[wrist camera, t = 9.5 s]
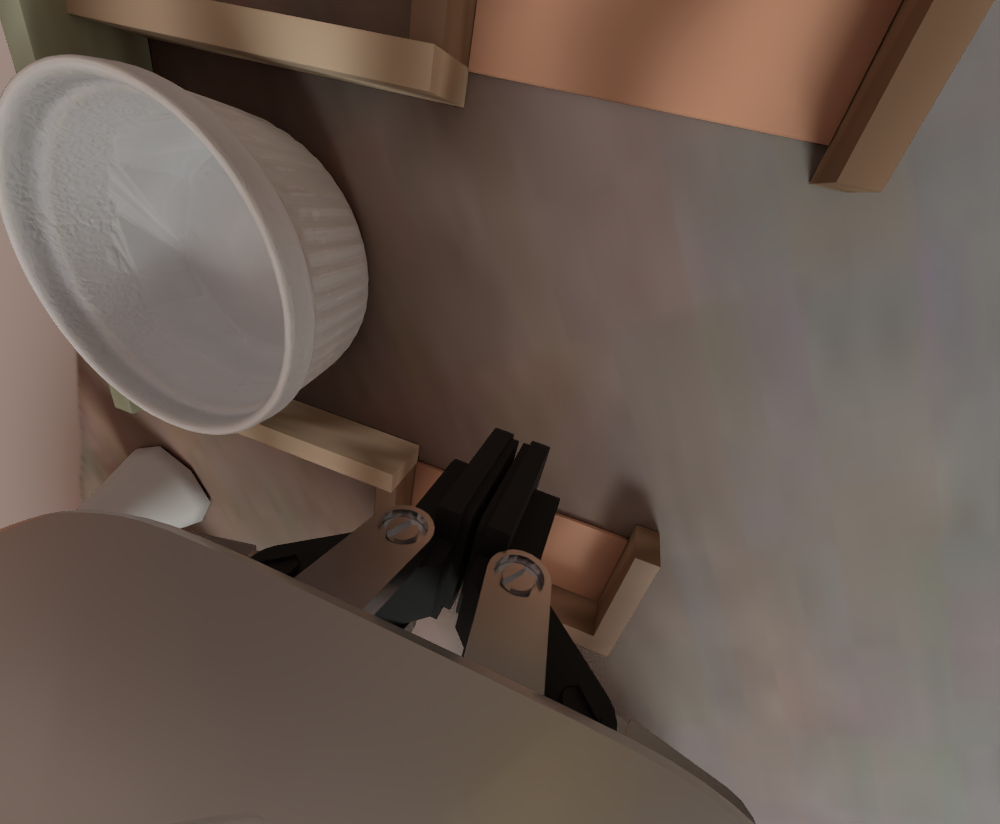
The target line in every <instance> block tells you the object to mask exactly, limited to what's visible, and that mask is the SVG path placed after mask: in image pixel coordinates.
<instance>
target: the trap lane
mask: <svg viewBox="0 0 1000 824" xmlns="http://www.w3.org/2000/svg"><path fill="white" fill-rule="evenodd" d="M993 2H994V0H412V1H411V15H410V29H409V39H406V38H401V37H396V36H390V35H385V34H380V33H375V32H370V31H365V30H360V29H355V28H350V27H345V26H340V25H335V24H330V23H325V22H319V21H314V20H309V19H304V18H299V17H294V16H289V15H284V14H279V13H274V12H269V11H264V10H259V9H254V8H249V7H243V6H238V5H233V4H228V3H223V2H218V1H213V0H0V20H1V23H2V26H3V29H4V33H5V36H6V40H7V43H8V47H9V50H10V53H11V56H12V60H13V63H14V67H15V70H16V74H17V73H18V72H19V71H20V70H21V69H23V68H24V67H26V66H27V65H29V64H30V63H32V62H34V61H36V60H39V59H41V58H44V57H48V56H54V55H66V54H74V55H84V56H90V57H96V58H102V59H107V60H113V61H119V62H123V63H126V64H130V65H134V66H137V67H140V68H143V69H145V70H148V71H150V72H153V69H152V63H151V57H150V51H149V45H148V39H147V38H150V39H155V40H159V41H164V42H168V43H173V44H177V45H182V46H186V47H191V48H196V49H200V50H205V51H209V52H214V53H218V54H223V55H227V56H232V57H236V58H241V59H245V60H250V61H254V62H259V63H263V64H268V65H273V66H277V67H282V68H286V69H291V70H295V71H300V72H304V73H309V74H313V75H318V76H322V77H327V78H331V79H336V80H341V81H345V82H350V83H354V84H359V85H363V86H368V87H372V88H377V89H381V90H386V91H390V92H395V93H399V94H404V95H408V96H413V97H418V98H422V99H427V100H431V101H436V102H440V103H445V104H449V105H454V106H458V107H463V108H464V104H465V96H466V88H467V81H468V73H469V72H472V73H477V74H482V75H486V76H491V77H496V78H501V79H506V80H511V81H516V82H520V83H525V84H530V85H535V86H540V87H545V88H550V89H554V90H559V91H564V92H569V93H574V94H579V95H584V96H588V97H593V98H598V99H603V100H608V101H613V102H618V103H622V104H627V105H632V106H637V107H642V108H647V109H652V110H657V111H661V112H666V113H671V114H676V115H681V116H686V117H691V118H695V119H700V120H705V121H710V122H715V123H720V124H725V125H729V126H734V127H739V128H744V129H749V130H754V131H759V132H763V133H768V134H773V135H778V136H783V137H788V138H793V139H797V140H802V141H807V142H812V143H817V144H822V145H829V146H828V148H827V150H826V152H825V154H824V156H823V158H822V160H821V162H820V163H819V165H818V167H817V169H816V171H815V173H814V175H813V177H812V179H811V181H810V183H809V184H812V185H816V186H821V187H825V188H830V189H834V190H839V191H843V192H882V190H883V189H884V187H885V185H886V184H887V182H888V180H889V179H890V177H891V175H892V174H893V172H894V170H895V168H896V167H897V165H898V163H899V162H900V160H901V158H902V157H903V155H904V153H905V151H906V150H907V148H908V146H909V145H910V143H911V141H912V140H913V138H914V136H915V134H916V133H917V131H918V129H919V128H920V126H921V124H922V123H923V121H924V119H925V117H926V116H927V114H928V112H929V111H930V109H931V107H932V106H933V104H934V102H935V100H936V99H937V97H938V95H939V94H940V92H941V90H942V89H943V87H944V85H945V83H946V82H947V80H948V78H949V77H950V75H951V73H952V72H953V70H954V68H955V67H956V65H957V63H958V61H959V60H960V58H961V56H962V55H963V53H964V51H965V50H966V48H967V46H968V44H969V43H970V41H971V39H972V38H973V36H974V34H975V33H976V31H977V29H978V27H979V26H980V24H981V22H982V21H983V19H984V17H985V16H986V14H987V12H988V10H989V9H990V7H991V5H992V4H993ZM108 384H109V383H108ZM109 388H110V391H111V394H112V398H113V401H114V405H115V407H116V408H119V409H121V410H124V411H126V412H129V413H131V414H134V413H136V412H139V411H141V410H143V409H142V408H140V407H139V406H137V405H136V404H134V403H133V402H131V401H130V400H129V399H127V398H126V397H124V396H123V395H122V394H121V393H119V392H118V391H117V390H116V389H115V388H114V387H112V386H111V385H110V384H109ZM237 433H238V434H241V435H244V436H246V437H249V438H251V439H254V440H256V441H259V442H262V443H264V444H267V445H269V446H272V447H274V448H277V449H280V450H282V451H285V452H287V453H290V454H293V455H295V456H298V457H300V458H303V459H305V460H308V461H311V462H313V463H316V464H318V465H321V466H323V467H326V468H329V469H331V470H334V471H336V472H339V473H341V474H344V475H347V476H349V477H352V478H354V479H357V480H359V481H362V482H365V483H367V484H370V485H372V486H375V487H376V496H375V509H374V515H375V514H376V513H378V512H379V511H381V510H383V509H384V508H386V507H390V506H393V505H409V506H414V507H415V506H416V505H417V504H418V502H419V501H420V500H421V499H422V497H423V496H424V495H425V494H426V493H427V491H428V490H429V489H430V488H431V486H432V485H433V484H434V483H435V482H436V480H437V479H438V478H439V477H440V476H441V474H442V473H443V472H444V470H441V469H439V468H436V467H433V466H431V465H428V464H425V463H422V462H420V461H418V462H417V460H418V453H419V445H417V444H414V443H411V442H409V441H406V440H403V439H400V438H398V437H395V436H392V435H389V434H387V433H384V432H381V431H378V430H376V429H373V428H370V427H367V426H365V425H362V424H359V423H357V422H354V421H351V420H348V419H346V418H343V417H340V416H337V415H335V414H332V413H329V412H326V411H324V410H321V409H318V408H315V407H313V406H310V405H307V404H304V403H302V402H299V401H296V400H292V401H291V402H290V403H289V404H288V405H287V406H286V407H285V408H283V409H282V410H281V411H280V412H278V413H277V414H275V415H274V416H272V417H270V418H268V419H266V420H265V421H263V422H261V423H259V424H257V425H255V426H253V427H251V428H249V429H246V430H244V431H241V432H237ZM541 562H542V563H543V564H544V565H545V566H546V567H547V569H548V571H549V574H550V576H551V583H552V586H551V601H550V605H551V607H552V609H553V610H554V612H555V613H556V615H557V617H558V618H559V620H560V621H561V623H562V624H563V626H564V628H565V629H566V631H567V632H568V634H569V636H570V637H571V639H572V640H573V642H574V643H575V644H577V645H579V646H582V647H584V648H587V649H589V650H591V651H594V652H596V653H598V654H601V655H603V656H606V657H608V656H609V654H610V652H611V651H612V649H613V647H614V646H615V644H616V642H617V641H618V639H619V637H620V636H621V634H622V632H623V630H624V629H625V627H626V625H627V624H628V622H629V620H630V619H631V617H632V615H633V613H634V612H635V610H636V608H637V607H638V605H639V603H640V602H641V600H642V598H643V596H644V595H645V593H646V591H647V590H648V588H649V586H650V585H651V583H652V581H653V579H654V578H655V576H656V574H657V573H658V571H659V569H660V568H661V566H660V538H659V533H658V532H656V531H653V530H650V529H647V528H645V527H642V526H639V525H636V526H635V528H634V530H633V532H632V534H631V536H630V538H629V540H628V539H627V538H625V537H622V536H619V535H617V534H614V533H611V532H608V531H606V530H603V529H600V528H598V527H595V526H592V525H590V524H587V523H584V522H581V521H579V520H576V519H573V518H571V517H568V516H565V515H563V514H560V513H557V512H556V514H555V517H554V520H553V523H552V527H551V530H550V533H549V536H548V539H547V542H546V545H545V549H544V552H543V555H542V558H541ZM461 589H462V588H461ZM460 593H461V590H460V592H459V594H458V595H460Z"/></svg>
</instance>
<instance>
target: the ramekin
mask: <svg viewBox="0 0 1000 824" xmlns="http://www.w3.org/2000/svg"><path fill="white" fill-rule="evenodd" d="M0 213H1V216H2V220H3V223H4V226H5V228H6V231H7V234H8V236H9V239H10V242H11V244H12V247H13V250H14V252H15V254H16V256H17V258H18V260H19V263H20V265H21V267H22V269H23V271H24V273H25V275H26V277H27V279H28V281H29V283H30V284H31V286H32V288H33V290H34V292H35V293H36V295H37V296H38V298H39V300H40V301H41V303H42V304H43V306H44V308H45V309H46V311H47V312H48V314H49V315H50V317H51V318H52V320H53V321H54V323H55V324H56V325H57V327H58V328H59V329H60V331H61V332H62V334H63V335H64V336H65V337H66V338H67V340H68V341H69V342H70V343H71V345H72V346H73V347H74V348H75V350H76V351H77V352H78V353H79V354H80V355H81V356H82V357H83V358H84V360H85V361H86V362H87V363H88V364H89V365H90V366H91V367H92V368H93V369H94V370H95V371H96V372H97V373H98V374H99V375H100V376H101V377H102V378H103V379H104V380H105V381H106V382H108V383H109V384H110V385H111V386H112V387H114V388H115V389H116V390H117V391H118V392H119V393H121V394H122V395H123V396H124V397H126V398H127V399H129V400H130V401H131V402H133V403H134V404H136V405H137V406H139V407H140V408H142V409H143V410H145V411H147V412H148V413H150V414H151V415H154V416H156V417H157V418H159V419H161V420H163V421H165V422H167V423H169V424H172V425H174V426H177V427H179V428H183V429H186V430H189V431H193V432H197V433H204V434H212V435H224V434H232V433H237V432H241V431H244V430H246V429H249V428H251V427H253V426H255V425H257V424H259V423H261V422H263V421H265V420H266V419H268V418H270V417H272V416H274V415H275V414H277V413H278V412H280V411H281V410H282V409H283V408H285V407H286V406H287V405H288V404H289V403H290V402H291V401H292V400H293V399H294V397H295V396H296V395H297V393H298V392H299V390H300V389H302V388H303V387H304V386H306V385H307V384H308V383H310V382H311V381H312V380H313V379H315V378H316V377H317V376H319V375H320V374H321V373H322V372H324V371H325V370H326V369H327V368H329V367H330V366H331V365H332V364H333V363H334V362H335V361H336V360H338V359H339V358H340V357H341V355H342V354H343V353H344V352H345V351H346V350H347V349H348V348H349V346H350V345H351V343H352V341H353V339H354V337H355V336H356V335H357V333H358V331H359V328H360V326H361V324H362V322H363V318H364V314H365V311H366V308H367V298H368V280H369V277H368V267H367V258H366V254H365V249H364V243H363V240H362V237H361V234H360V231H359V227H358V225H357V222H356V220H355V217H354V215H353V213H352V210H351V208H350V206H349V204H348V203H347V201H346V199H345V197H344V195H343V193H342V191H341V190H340V188H339V187H338V186H337V184H336V183H335V181H334V180H333V178H332V176H331V175H330V174H329V173H328V171H327V170H326V169H325V168H324V167H323V165H322V164H321V162H320V161H319V160H318V159H317V158H316V157H314V156H313V155H312V154H311V153H310V152H309V151H308V150H307V149H306V147H304V146H303V145H302V144H301V143H299V142H297V141H296V140H295V139H294V138H292V137H291V136H290V135H289V134H288V133H286V132H285V131H283V130H281V129H279V128H277V127H275V126H274V125H273V124H271V123H270V122H268V121H266V120H264V119H262V118H260V117H257V116H254V115H252V114H250V113H247V112H245V111H242V110H240V109H237V108H235V107H232V106H229V105H227V104H224V103H221V102H218V101H216V100H213V99H210V98H207V97H204V96H201V95H198V94H196V93H193V92H190V91H187V90H184V89H183V88H181V87H179V86H178V85H176V84H174V83H173V82H171V81H169V80H167V79H165V78H163V77H161V76H159V75H157V74H155V73H153V72H150V71H148V70H145V69H143V68H140V67H137V66H134V65H130V64H126V63H123V62H119V61H113V60H107V59H102V58H96V57H90V56H84V55H74V54H66V55H54V56H48V57H44V58H41V59H39V60H36V61H34V62H32V63H30V64H29V65H27V66H26V67H24V68H23V69H21V70H20V71H19V72H18V73H17V74H16V75H14V77H13V78H12V79H11V80H10V82H9V83H8V84H7V86H6V87H5V89H4V90H3V92H2V94H1V97H0Z"/></svg>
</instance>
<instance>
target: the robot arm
mask: <svg viewBox="0 0 1000 824" xmlns="http://www.w3.org/2000/svg"><path fill="white" fill-rule="evenodd" d="M513 436H514V434H512V433H509V432H507V431H504V430H501V429H498V428H495V429H494V431H493V432H492V433H491V435H490V436H489V437H488V439H487V440H486V441H485V443H484V444H483V445H482V447H481V448H480V449H479V451H478V452H477V453H476V455H475V456H474V457H473V459H472V460H471V461H470V463H469V464H468V463H465V462H462V461H460V460H457V459H454V460H453V461H452V462H451V463H450V465H449V466H448V467H447V468H446V469H445V471H444V472H443V473H442V474H441V476H440V477H439V478H438V479H437V480H436V482H435V483H434V484H433V485H432V486H431V488H430V489H429V490H428V491H427V493H426V494H425V495H424V496H423V497H422V499H421V500H420V501H419V502H418V504H417V505H416V506H415V507H414V506H409V505H393V506H390V507H386V508H384V509H383V510H381V511H379V512H378V513H376V514H375V515H374V516H373V517H371V518H370V519H369V520H367V521H366V522H365V523H364V524H362V525H361V526H360V527H358V528H357V529H356V530H355V531H353V532H351V533H346V534H340V535H334V536H328V537H322V538H317V539H311V540H305V541H299V542H294V543H288V544H282V545H277V546H273V547H269V548H266V549H264V550H262V551H256V545H253V544H248V543H243V542H239V541H234V540H229V539H225V538H220V537H215V536H211V535H206V534H201V533H196V532H192V531H187V530H182V529H180V528H177V527H175V526H172V525H169V524H165V523H162V522H159V521H155V520H152V519H149V518H144V517H139V516H134V515H128V514H123V513H116V512H104V511H93V510H77V511H61V512H55V513H50V514H44V515H40V516H37V517H34V518H30V519H27V520H24V521H21V522H18V523H15V524H12V525H9V526H7V527H4V528H2V529H0V824H755V821H754V819H753V817H752V815H751V814H750V813H749V811H748V810H747V808H746V807H745V805H744V804H743V802H742V801H741V800H740V799H739V798H738V797H737V796H736V795H735V794H734V793H733V792H732V791H730V790H729V789H728V788H727V787H726V786H724V785H723V784H722V783H720V782H719V781H718V780H716V779H715V778H713V777H712V776H711V775H709V774H708V773H706V772H705V771H704V770H702V769H701V768H700V767H698V766H697V765H695V764H694V763H693V762H691V761H690V760H688V759H687V758H686V757H684V756H683V755H682V754H680V753H679V752H677V751H676V750H675V749H673V748H672V747H670V746H669V745H668V744H666V743H665V742H664V741H662V740H661V739H659V738H658V737H657V736H655V735H654V734H652V733H651V732H650V731H648V730H647V729H646V728H644V727H643V726H641V725H640V724H639V723H637V722H636V721H635V720H633V719H632V718H631V720H630V721H629V723H628V722H626V721H625V720H623V719H622V718H621V717H619V716H618V715H617V714H615V710H614V708H613V706H612V704H611V701H610V699H609V697H608V696H607V694H606V692H605V691H604V689H603V688H602V686H601V685H600V683H599V681H598V680H597V678H596V677H595V675H594V673H593V672H592V670H591V669H590V667H589V666H588V664H587V662H586V661H585V659H584V658H583V656H582V654H581V653H580V651H579V650H578V648H577V647H576V645H575V643H574V642H573V640H572V639H571V637H570V636H569V634H568V632H567V631H566V629H565V628H564V626H563V624H562V623H561V621H560V620H559V618H558V617H557V615H556V613H555V612H554V610H553V609H552V607H551V605H550V601H551V586H552V583H551V576H550V574H549V571H548V569H547V567H546V566H545V565H544V564H543V563H542V562H541V558H542V555H543V552H544V549H545V545H546V542H547V539H548V536H549V533H550V530H551V527H552V523H553V520H554V517H555V514H556V511H557V508H558V505H559V501H560V498H557V497H555V496H552V495H549V494H547V493H544V492H542V491H539V490H537V487H538V484H539V481H540V478H541V474H542V471H543V468H544V465H545V462H546V459H547V456H548V453H549V450H550V447H548V446H546V445H543V444H540V443H537V442H534V441H532V442H531V444H530V445H528V444H525V443H523V445H522V447H521V449H520V450H519V452H518V454H517V456H516V457H515V454H516V450H517V447H518V443H519V441H517V440H514V439H513ZM514 457H515V459H514ZM461 588H462V589H461ZM460 590H461V593H460V597H459V601H458V605H457V608H456V613H458V614H459V615H458V619H457V623H456V626H455V627H456V630H457V632H458V635H459V637H460V639H461V642H462V644H463V647H464V649H463V652H462V656H459V655H457V654H455V653H453V652H451V651H449V650H447V649H444V648H442V647H440V646H438V645H436V644H434V643H432V642H430V641H427V640H425V639H423V638H421V637H419V636H417V635H415V634H413V633H411V632H412V630H413V629H414V627H415V625H416V621H417V620H419V619H422V618H426V617H429V616H431V617H433V618H435V619H437V618H438V616H439V614H440V612H441V610H442V608H443V607H445V608H447V609H449V610H450V609H451V607H452V605H453V603H454V601H455V600H456V598H457V596H458V594H459V592H460Z"/></svg>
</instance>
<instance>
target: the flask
mask: <svg viewBox="0 0 1000 824" xmlns="http://www.w3.org/2000/svg"><path fill="white" fill-rule="evenodd" d="M209 505H210V501H209V499H208V498H207V496H206V494H205V493H204V491H203V490H202V488H201V486H200V485H199V483H198V481H197V480H196V478H195V477H194V475H193V473H192V472H191V471H190V470H189V469H188V468H187V467H185V466H184V465H183V464H182V463H180V462H179V461H178V460H177V459H175V458H174V457H173V456H171V455H170V454H169V453H168V452H166V451H165V450H164V449H163V448H161V447H160V446H156V447H148V448H139V449H135V450H134V451H133V452H132V453H131V454H130V455H129V456H128V457H127V458H126V459H125V460H124V461H123V463H122V464H121V465H120V466H119V467H118V468H117V469H116V470H115V471H114V472H113V473H112V474H111V475H110V476H109V477H108V478H107V479H106V480H105V482H104V483H103V484H102V485H101V486H100V487H99V488H98V489H97V490H96V491H95V492H94V493H93V494H92V495H91V496H90V497H89V498H88V499H87V500H86V501H84V502H83V503H82V504H81V505H80V506H79V508H77V509H76V510H75V511H77V510H93V511H104V512H116V513H123V514H128V515H134V516H139V517H144V518H149V519H152V520H155V521H159V522H162V523H165V524H169V525H172V526H175V527H177V528H183V527H186V526H189V525H192V524H195V523H198V522H200V521H202V520H203V518H204V516H205V514H206V511H207V509H208V507H209Z"/></svg>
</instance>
